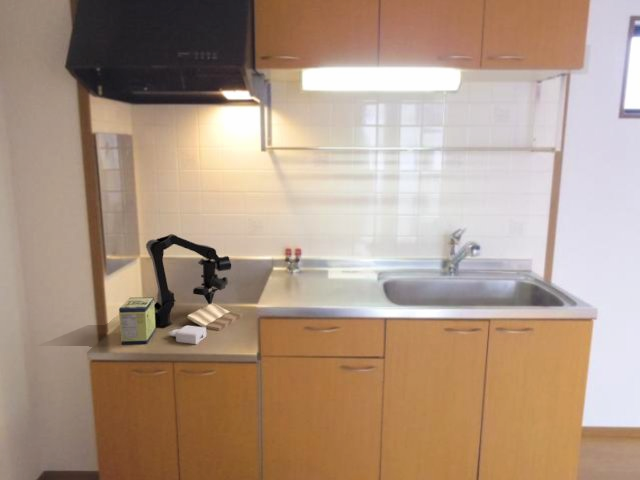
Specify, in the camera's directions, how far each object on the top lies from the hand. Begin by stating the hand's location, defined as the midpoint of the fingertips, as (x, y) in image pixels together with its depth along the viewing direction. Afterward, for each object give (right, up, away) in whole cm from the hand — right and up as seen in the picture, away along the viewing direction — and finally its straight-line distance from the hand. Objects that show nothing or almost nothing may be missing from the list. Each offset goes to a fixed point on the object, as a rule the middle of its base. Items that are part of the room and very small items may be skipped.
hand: (210, 304), depth 223 cm
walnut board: (+9, -8, -7) cm, 14 cm away
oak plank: (0, -5, -5) cm, 7 cm away
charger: (-4, -11, -27) cm, 29 cm away
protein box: (-24, -11, -26) cm, 37 cm away
